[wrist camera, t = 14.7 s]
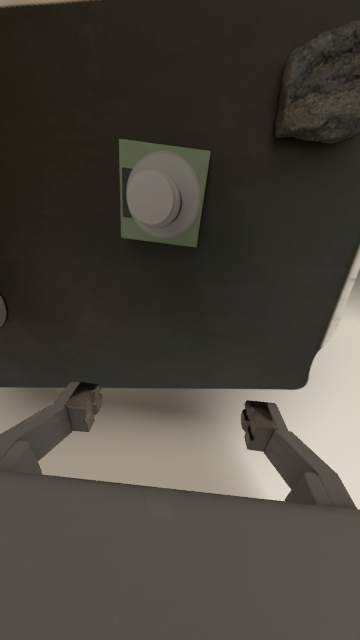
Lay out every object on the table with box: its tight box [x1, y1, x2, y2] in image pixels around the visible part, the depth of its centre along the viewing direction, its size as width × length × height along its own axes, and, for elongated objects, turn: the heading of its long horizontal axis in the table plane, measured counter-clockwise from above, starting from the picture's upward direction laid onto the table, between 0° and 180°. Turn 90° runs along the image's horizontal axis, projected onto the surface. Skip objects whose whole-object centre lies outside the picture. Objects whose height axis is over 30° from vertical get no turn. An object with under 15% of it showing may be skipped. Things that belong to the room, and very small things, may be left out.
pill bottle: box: [127, 170, 182, 228], centre depth 24 cm, size 6×6×10 cm
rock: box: [275, 20, 360, 143], centre depth 23 cm, size 12×10×5 cm
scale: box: [119, 139, 210, 247], centre depth 29 cm, size 12×12×3 cm
